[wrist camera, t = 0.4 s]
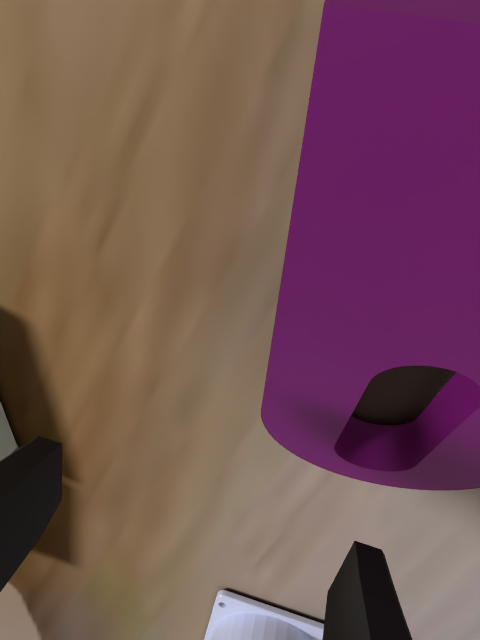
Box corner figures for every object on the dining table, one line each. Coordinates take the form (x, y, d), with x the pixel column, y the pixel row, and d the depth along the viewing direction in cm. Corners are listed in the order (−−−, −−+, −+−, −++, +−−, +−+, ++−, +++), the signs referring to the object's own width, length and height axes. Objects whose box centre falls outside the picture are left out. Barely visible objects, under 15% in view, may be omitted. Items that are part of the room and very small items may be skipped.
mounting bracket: (457, 349, 24) (806, -86, 10) (462, 507, 20) (1161, 113, 5) (287, 311, 26) (374, -129, 11) (253, 451, 21) (324, -1, 6)
